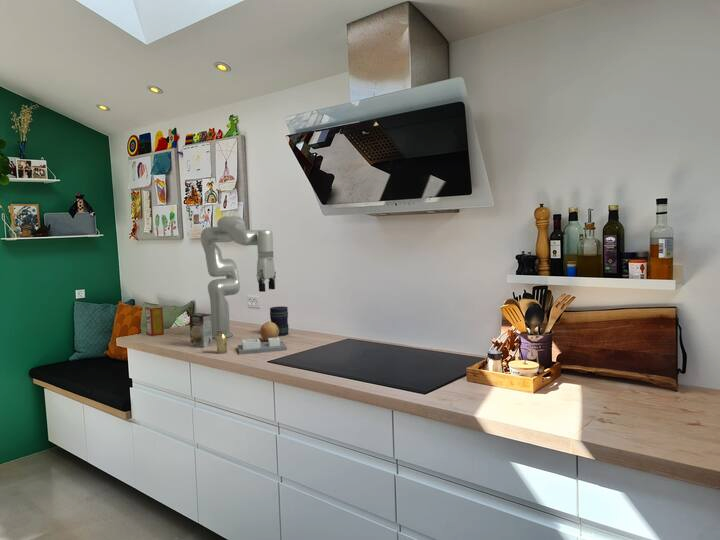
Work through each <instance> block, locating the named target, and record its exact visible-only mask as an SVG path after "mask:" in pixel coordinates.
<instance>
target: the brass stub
mask: <svg viewBox="0 0 720 540" xmlns="http://www.w3.org/2000/svg"><path fill="white" fill-rule="evenodd" d="M216 334H217V339H216V348H217V349H216V350H217V351H216V352H217V354H220V355H223V354H227V353H228V347H227V346H228V342H227V338H226V331H218V332H216Z"/></svg>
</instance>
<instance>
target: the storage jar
mask: <svg viewBox="0 0 720 540" xmlns="http://www.w3.org/2000/svg"><path fill="white" fill-rule="evenodd" d="M269 317H270V322H273V323H275V324H276V325H277V326H278V329H279V335H278V337H286V336H288V335H289V327H290V326H289V323H288V321H289V320H288V318H289V308H288V306H281V305H280V306H272V307H269Z"/></svg>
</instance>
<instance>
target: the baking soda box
mask: <svg viewBox="0 0 720 540" xmlns="http://www.w3.org/2000/svg"><path fill="white" fill-rule="evenodd" d="M144 311H145V326H146V327H145V329H146V335H148V336H151V337H156V336H162V335H165V334H164V331H165V330H164V329H165V328H164V316H163V307H162V306H159V305H154V306H153V305H152V306H145V307H144Z"/></svg>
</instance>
